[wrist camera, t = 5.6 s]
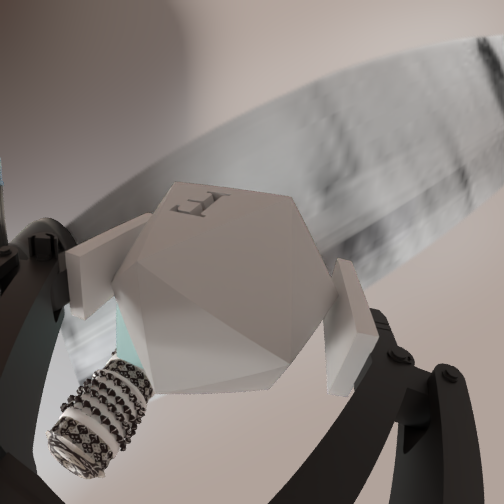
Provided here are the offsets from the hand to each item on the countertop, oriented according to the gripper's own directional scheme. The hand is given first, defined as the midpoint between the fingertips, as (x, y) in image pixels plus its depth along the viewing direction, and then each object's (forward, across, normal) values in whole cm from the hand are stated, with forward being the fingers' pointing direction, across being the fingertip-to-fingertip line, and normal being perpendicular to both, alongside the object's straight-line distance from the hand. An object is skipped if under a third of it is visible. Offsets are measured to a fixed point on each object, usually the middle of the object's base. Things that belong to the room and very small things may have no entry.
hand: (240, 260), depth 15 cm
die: (0, 0, 0) cm, 0 cm away
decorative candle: (+20, -13, -26) cm, 35 cm away
